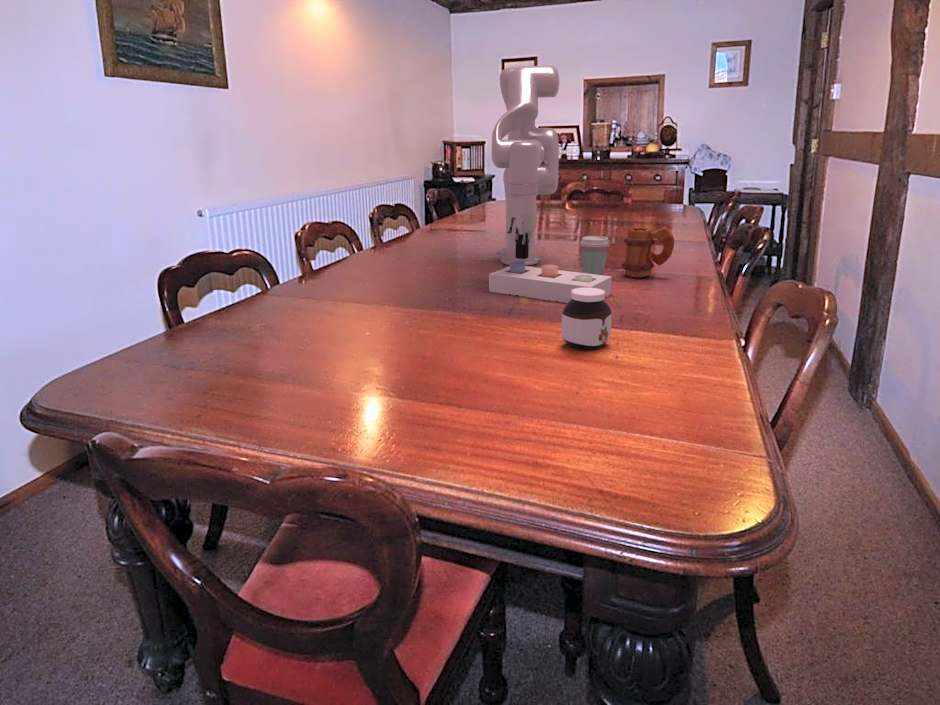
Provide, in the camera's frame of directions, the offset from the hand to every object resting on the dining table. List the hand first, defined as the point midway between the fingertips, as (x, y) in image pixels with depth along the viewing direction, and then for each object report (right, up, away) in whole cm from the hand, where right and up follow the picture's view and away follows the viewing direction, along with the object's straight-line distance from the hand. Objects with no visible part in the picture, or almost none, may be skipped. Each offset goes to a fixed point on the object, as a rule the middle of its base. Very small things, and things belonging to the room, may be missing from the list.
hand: (521, 258), depth 182 cm
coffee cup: (+22, -4, +15) cm, 27 cm away
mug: (+38, -4, +15) cm, 41 cm away
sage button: (+16, -11, -7) cm, 20 cm away
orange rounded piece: (+7, -8, -3) cm, 11 cm away
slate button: (-1, -6, +3) cm, 6 cm away
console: (+7, -10, -2) cm, 12 cm away
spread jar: (+10, -24, -41) cm, 49 cm away
